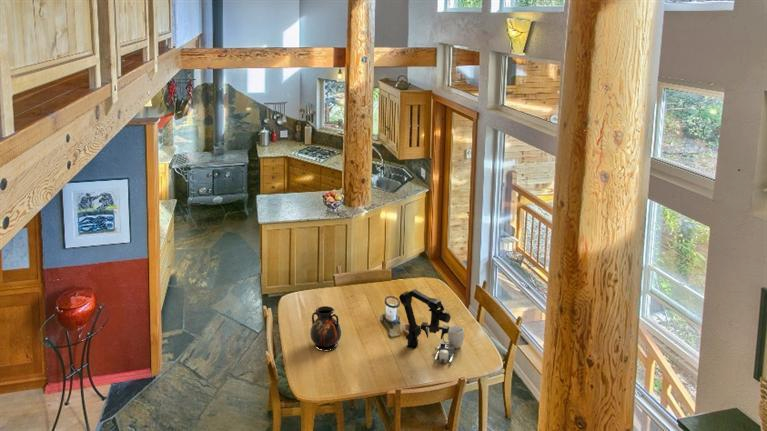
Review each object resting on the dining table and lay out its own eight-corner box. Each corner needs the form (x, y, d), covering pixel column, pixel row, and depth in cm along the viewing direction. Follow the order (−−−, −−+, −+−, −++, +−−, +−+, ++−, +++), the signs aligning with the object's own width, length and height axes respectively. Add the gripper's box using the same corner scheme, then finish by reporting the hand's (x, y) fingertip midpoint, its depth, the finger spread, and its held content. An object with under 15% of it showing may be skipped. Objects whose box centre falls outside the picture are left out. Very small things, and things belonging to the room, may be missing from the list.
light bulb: (437, 364, 428) (437, 355, 426) (440, 358, 436) (440, 349, 433) (446, 365, 426) (447, 356, 424) (449, 359, 434) (449, 350, 432)
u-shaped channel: (430, 362, 431) (430, 351, 428) (435, 350, 446) (436, 339, 444) (450, 365, 427) (451, 354, 425) (455, 352, 443) (455, 342, 440)
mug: (441, 349, 447) (441, 332, 443) (442, 341, 458) (442, 324, 454) (463, 350, 445) (463, 333, 441) (463, 342, 456) (464, 325, 452)
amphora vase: (306, 352, 445) (304, 315, 437) (316, 337, 465) (315, 301, 457) (336, 355, 441) (334, 318, 432) (345, 340, 460) (344, 304, 452)
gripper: (418, 321, 428) (418, 342, 433) (446, 325, 423) (445, 346, 428) (422, 313, 438) (421, 334, 443) (449, 318, 433) (448, 338, 438)
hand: (434, 338), depth 438 cm, fingers open, 9 cm apart
